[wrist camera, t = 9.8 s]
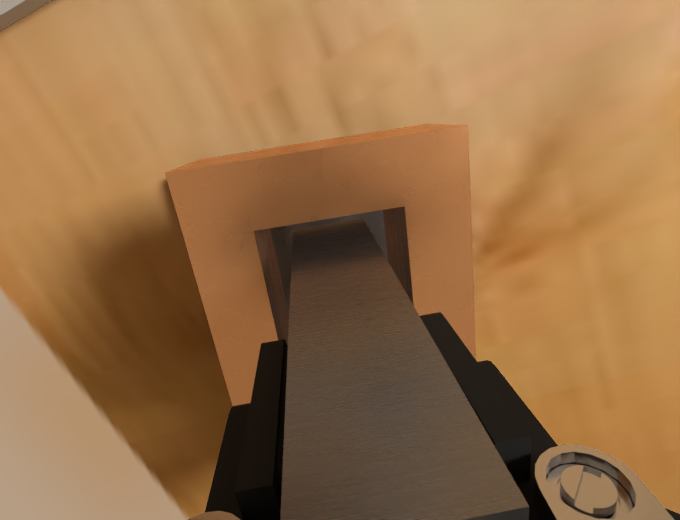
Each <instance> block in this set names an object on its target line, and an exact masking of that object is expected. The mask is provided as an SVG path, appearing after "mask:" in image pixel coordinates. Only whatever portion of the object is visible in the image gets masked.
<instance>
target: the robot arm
mask: <svg viewBox="0 0 680 520" xmlns="http://www.w3.org/2000/svg"><path fill="white" fill-rule="evenodd" d="M420 318H421V320H422V321H423V323H424V325H425V327H426V328H427V330H428V332H429V333H430V335H431V337H432V339H433V340H434V342H435V344H436V346H437V347H438V349H439V351H440V353H441V354H442V356H443V358H444V359H445V361H446V363H447V365H448V366H449V368H450V370H451V372H452V373H453V375H454V377H455V379H456V380H457V382H458V384H459V385H460V387H461V389H462V391H463V392H464V394H465V396H466V398H467V399H468V401H469V403H470V405H471V406H472V408H473V410H474V411H475V413H476V415H477V417H478V418H479V420H480V422H481V424H482V425H483V427H484V429H485V431H486V432H487V434H488V436H489V437H490V439H491V441H492V443H493V444H494V446H495V448H496V450H497V451H498V453H499V455H500V457H501V458H502V460H503V462H504V463H505V465H506V467H507V469H508V470H509V472H510V474H511V476H512V477H513V479H514V481H515V483H516V484H517V486H518V488H519V489H520V491H521V493H522V495H523V496H524V498H525V500H526V502H527V503H528V505H529V520H680V514H678V513H675V512H673V511H670V510H668V509H666V508H664V507H663V506H662V504H661V503H660V502H659V501H658V500H657V498H656V497H655V496H654V495H653V494H652V493H651V491H650V490H649V489H648V488H647V487H646V485H645V484H644V483H643V482H642V481H641V479H640V478H639V477H638V476H637V475H636V474H635V473H634V472H633V471H632V470H631V469H629V468H628V467H627V466H626V465H625V464H624V463H622V462H621V461H619V460H617V459H616V458H614V457H613V456H611V455H609V454H607V453H604V452H602V451H599V450H597V449H594V448H590V447H586V446H581V445H560V446H558V445H557V444H556V443H555V442H554V440H553V439H552V438H551V437H550V435H549V434H548V433H547V431H546V430H545V429H544V428H543V426H542V425H541V424H540V423H539V421H538V420H537V419H536V417H535V416H534V415H533V414H532V412H531V411H530V410H529V409H528V407H527V406H526V405H525V403H524V402H523V401H522V400H521V398H520V397H519V396H518V395H517V393H516V392H515V391H514V389H513V388H512V387H511V386H510V384H509V383H508V382H507V381H506V379H505V378H504V377H503V375H502V374H501V373H500V372H499V370H498V369H497V368H496V367H495V365H494V364H493V363H492V362H491V361H488V360H487V361H481V362H477V361H476V360H475V358H474V357H473V355H472V354H471V353H470V351H469V350H468V348H467V347H466V346H465V344H464V343H463V342H462V340H461V339H460V337H459V336H458V335H457V333H456V332H455V331H454V329H453V328H452V326H451V325H450V324H449V322H448V321H447V320H446V318H445V317H444V315H443V314H442V313H441V312H438V313H432V314H426V315H420ZM287 354H288V345H287V343H286V340H285V339H283V340H277V341H271V342H266V343H261V347H260V352H259V358H258V363H257V369H256V375H255V380H254V386H253V391H252V397H251V403H247V404H242V405H236V406H233V407H232V408H231V410H230V413H229V416H228V420H227V425H226V429H225V433H224V437H223V441H222V445H221V449H220V453H219V457H218V461H217V465H216V470H215V474H214V478H213V482H212V486H211V490H210V494H209V498H208V502H207V506H206V511H205V513H202V514H200V515H197V516H195V517H192V518H190V519H188V520H280V517H281V493H282V470H283V447H284V424H285V401H286V378H287Z"/></svg>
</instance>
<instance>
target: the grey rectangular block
mask: <svg viewBox="0 0 680 520" xmlns="http://www.w3.org/2000/svg"><path fill="white" fill-rule="evenodd" d="M280 520H529V505H528V503H527V502H526V500H525V498H524V496H523V495H522V493H521V491H520V489H519V488H518V486H517V484H516V483H515V481H514V479H513V477H512V476H511V474H510V472H509V470H508V469H507V467H506V465H505V463H504V462H503V460H502V458H501V457H500V455H499V453H498V451H497V450H496V448H495V446H494V444H493V443H492V441H491V439H490V437H489V436H488V434H487V432H486V431H485V429H484V427H483V425H482V424H481V422H480V420H479V418H478V417H477V415H476V413H475V411H474V410H473V408H472V406H471V405H470V403H469V401H468V399H467V398H466V396H465V394H464V392H463V391H462V389H461V387H460V385H459V384H458V382H457V380H456V379H455V377H454V375H453V373H452V372H451V370H450V368H449V366H448V365H447V363H446V361H445V359H444V358H443V356H442V354H441V353H440V351H439V349H438V347H437V346H436V344H435V342H434V340H433V339H432V337H431V335H430V333H429V332H428V330H427V328H426V327H425V325H424V323H423V321H422V320H421V318H420V316H419V314H418V313H417V311H416V309H415V307H414V306H413V304H412V302H411V301H410V299H409V297H408V295H407V294H406V292H405V290H404V288H403V287H402V285H401V283H400V281H399V280H398V278H397V276H396V275H395V273H394V271H393V269H392V268H391V266H390V264H389V262H388V261H387V259H386V257H385V255H384V254H383V252H382V250H381V249H380V247H379V245H378V243H377V242H376V240H375V238H374V236H373V235H372V233H371V231H370V229H369V228H368V226H367V224H366V223H365V221H364V219H363V218H359V219H353V220H347V221H341V222H335V223H329V224H323V225H317V226H311V227H305V228H299V229H293V239H292V262H291V285H290V308H289V331H288V354H287V378H286V401H285V424H284V447H283V470H282V493H281V517H280Z"/></svg>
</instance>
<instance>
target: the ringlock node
mask: <svg viewBox="0 0 680 520" xmlns="http://www.w3.org/2000/svg"><path fill="white" fill-rule="evenodd" d="M165 175H166V179H167V182H168V186H169V189H170V192H171V196H172V199H173V203H174V206H175V210H176V213H177V217H178V220H179V223H180V227H181V230H182V234H183V237H184V241H185V244H186V248H187V251H188V254H189V258H190V261H191V265H192V268H193V272H194V275H195V279H196V282H197V285H198V289H199V292H200V296H201V299H202V303H203V306H204V310H205V313H206V316H207V320H208V323H209V327H210V330H211V334H212V337H213V341H214V344H215V348H216V351H217V354H218V358H219V361H220V365H221V368H222V372H223V375H224V379H225V382H226V385H227V389H228V392H229V396H230V399H231V403H232V406H236V405H242V404H247V403H251V397H252V391H253V386H254V380H255V375H256V369H257V363H258V358H259V352H260V347H261V343H266V342H271V341H277V340H283V339H285V340H286V343H287V345H288V331H289V308H290V285H291V262H292V239H293V229H299V228H305V227H311V226H317V225H323V224H329V223H335V222H341V221H347V220H353V219H359V218H363V219H364V221H365V223H366V224H367V226H368V228H369V229H370V231H371V233H372V235H373V236H374V238H375V240H376V242H377V243H378V245H379V247H380V249H381V250H382V252H383V254H384V255H385V257H386V259H387V261H388V262H389V264H390V266H391V268H392V269H393V271H394V273H395V275H396V276H397V278H398V280H399V281H400V283H401V285H402V287H403V288H404V290H405V292H406V294H407V295H408V297H409V299H410V301H411V302H412V304H413V306H414V307H415V309H416V311H417V313H418V314H419V316H420V315H426V314H432V313H438V312H441V313H442V314H443V315H444V317H445V318H446V320H447V321H448V322H449V324H450V325H451V326H452V328H453V329H454V331H455V332H456V333H457V335H458V336H459V337H460V339H461V340H462V342H463V343H464V344H465V346H466V347H467V348H468V350H469V351H470V353H471V354H472V355H473V357H474V358H475V360H476V346H475V316H474V285H473V255H472V225H471V195H470V165H469V135H468V125H441V124H423V125H417V126H411V127H404V128H398V129H391V130H385V131H379V132H372V133H366V134H359V135H353V136H346V137H340V138H334V139H327V140H321V141H314V142H308V143H302V144H295V145H289V146H282V147H276V148H270V149H263V150H257V151H250V152H244V153H238V154H231V155H225V156H218V157H212V158H206V159H200V160H197V161H194V162H192V163H189V164H187V165H184V166H181V167H179V168H176V169H174V170H171V171H169V172H166V173H165Z"/></svg>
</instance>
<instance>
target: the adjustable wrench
mask: <svg viewBox="0 0 680 520" xmlns="http://www.w3.org/2000/svg"><path fill="white" fill-rule="evenodd" d="M50 1H52V0H0V31H1V30H3V29H4V28H6V27H8V26H9V25H11V24H13V23H15V22H16V21H18V20H20V19H21V18H23V17H25V16H26V15H28V14H30V13H31V12H33V11H35V10H36V9H38V8H40V7H42V6H43V5H45V4H47V3H48V2H50Z"/></svg>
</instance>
